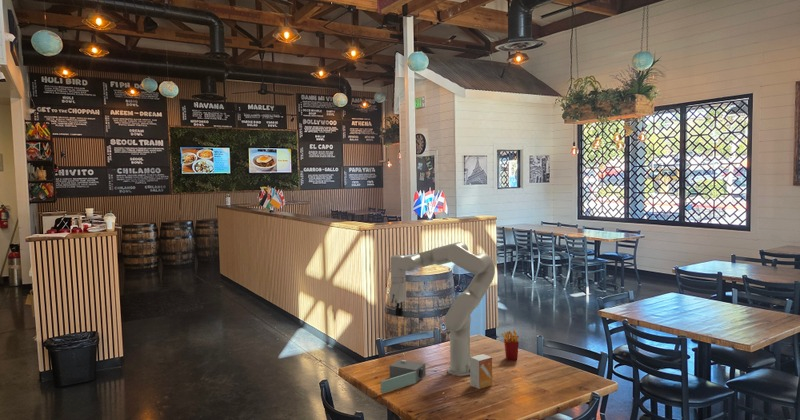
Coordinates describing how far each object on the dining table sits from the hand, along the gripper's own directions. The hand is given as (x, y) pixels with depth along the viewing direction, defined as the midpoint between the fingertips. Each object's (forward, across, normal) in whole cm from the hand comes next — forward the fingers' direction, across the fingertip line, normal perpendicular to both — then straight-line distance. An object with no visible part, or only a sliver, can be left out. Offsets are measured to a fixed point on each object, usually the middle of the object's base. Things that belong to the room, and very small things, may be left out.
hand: (399, 315), depth 266 cm
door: (+25, +29, +14) cm, 40 cm away
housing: (+25, +15, +12) cm, 31 cm away
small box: (+25, +10, +47) cm, 54 cm away
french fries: (+25, -30, +48) cm, 62 cm away
